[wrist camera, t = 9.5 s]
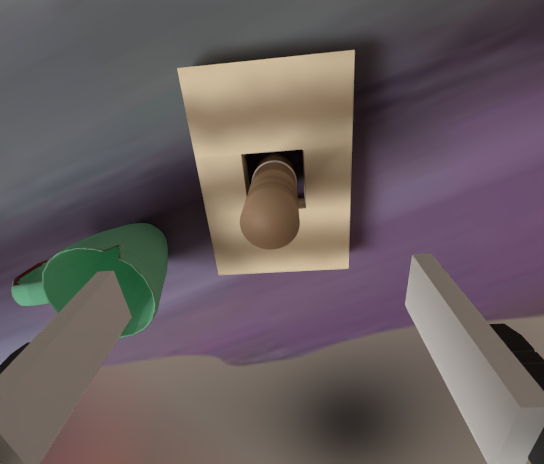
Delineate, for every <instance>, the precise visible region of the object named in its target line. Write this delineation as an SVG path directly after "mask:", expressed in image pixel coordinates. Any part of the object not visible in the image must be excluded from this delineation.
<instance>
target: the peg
mask: <svg viewBox="0 0 544 464" xmlns="http://www.w3.org/2000/svg"><path fill="white" fill-rule="evenodd" d="M296 187H297V179H296V175H295V169H294V166H293V164H292V162H291V161H290V160H289V159H288V158H287V157H285V156H284V155H281V154H270V155H267V156H265V157H264V158H262V159H261V160H260V162H259V163H258V165H257V168H256V170H255V172H254V174H253V177H252V183H251V186H250V189H249V192H248V195H247V198H246V201H245V204H244V207H243V210H242V213H241V216H240V228H241V231H242V233H243V235H244V237H245V238H246V239H247V240H248V241H249V242H250V243H251V244H253V245H254V246H256V247H259V248H262V249H267V250H273V249H279V248H282V247H284V246H286V245H288V244H289V243H290V242H292V241H293V240H294V238H295V237H296V235H297V233H298V231H299V226H300V219H299V209H298V198H297V188H296Z"/></svg>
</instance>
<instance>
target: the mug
mask: <svg viewBox="0 0 544 464" xmlns="http://www.w3.org/2000/svg"><path fill="white" fill-rule="evenodd" d="M167 263H168V248H167V240H166V238H165V236H164V234H163V233H162V232H161V231H160V230H159V229H158V228H157V227H155V226H153V225H151V224H148V223H135V224H128V225H124V226H121V227H117V228H113V229H110V230H106V231H103V232H100V233H97V234H95V235H92V236H89V237H87V238H85V239H82V240H80V241H78V242H76V243H74V244H71V245H69V246H67V247H65V248H64V249H63V250H61V251H60V252H59V253H57V254H56V255H55V256H53V257H52V258H51V259H49V260H46V261H43V262H41V263H38V264H36V265H35V266H33V267H32V268H30V269H29V270H27V271H26V272H24V273H22V274H21V275H19V276H18V277H16V278H15V279H14V280H13V283H12V295H13V298H14V300H15V301H16V302H17V303H18V304H19V305H21V306H32V305H41V304H46V303H49V304H50V305H51V306H52V307H53V309H54V310H55V311H56V313H57V314H58V313H59V312H60V311H61V310H62V309H63V308H64V307H65V306H66V304H67V303H68V302H69V301H70V300H71V299H72V298H73V297H74V296H75V295H76V294H77V293H78V292H79V291H80V290H81V289H82V288H83V287H84V285H85V284H86V283H87V282H88V281H89V280H90V279H91V278H92V277H93V276H94V275H95V274H96V273H97V272H100V271H114V273H115V275H116V278H117V280H118V283H119V285H120V288H121V290H122V293H123V296H124V298H125V301H126V303H127V306H128V308H129V311H130V313H131V316H132V318H131V319H130V321H129V322H128V324H127V326H126V327H125V329H124V330H123V332H122V334H121V335H120V337H119V338H122V337H127V336H132V335H135V334H137V333H138V332H140V331H142V330H144V329H146V327H147V326H148V325H149V323H150V322H151V321H152V320H153V318H154V316H155V315H156V312H157V310H158V306H159V301H160V297H161V292H162V288H163V284H164V281H165V276H166V272H167Z"/></svg>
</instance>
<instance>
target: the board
mask: <svg viewBox="0 0 544 464" xmlns="http://www.w3.org/2000/svg"><path fill="white" fill-rule="evenodd" d="M354 61H355V50H347V51H338V52H328V53H319V54H309V55H299V56H290V57H280V58H271V59H261V60H252V61H242V62H232V63H223V64H213V65H204V66H194V67H184V68H177V70H178V75H179V80H180V85H181V90H182V95H183V100H184V105H185V110H186V115H187V120H188V125H189V130H190V135H191V140H192V145H193V150H194V155H195V160H196V165H197V170H198V175H199V180H200V185H201V190H202V195H203V200H204V205H205V210H206V215H207V220H208V225H209V230H210V235H211V240H212V245H213V250H214V255H215V259H216V264H217V269H218V274H219V275H231V274H251V273H271V272H291V271H311V270H331V269H349V236H350V201H351V166H352V131H353V96H354ZM290 150H302V152H303V176H304V197H303V198H298V209H299V219H300V226H299V231H298V233H297V235H296V237H295V238H294V240H293V241H292V242H290V243H289V244H288V245H286V246H284V247H282V248H279V249H273V250H267V249H262V248H259V247H256V246H254V245H253V244H251V243H250V242H249V241H248V240H247V239H246V238H245V237H244V235H243V233H242V231H241V228H240V216H241V213H242V210H243V207H244V204H245V201H246V198H247V195H248V192H249V189H250V184H249V176H248V168H247V160H246V154H253V153H265V152H277V151H290Z"/></svg>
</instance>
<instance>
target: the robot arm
mask: <svg viewBox="0 0 544 464" xmlns="http://www.w3.org/2000/svg"><path fill="white" fill-rule="evenodd" d="M405 306H406V308H407V310H408V312H409V314H410V316H411V318H412V320H413V322H414V324H415V325H416V327H417V329H418V331H419V333H420V335H421V337H422V339H423V341H424V343H425V345H426V347H427V348H428V350H429V352H430V354H431V356H432V358H433V360H434V362H435V364H436V366H437V367H438V369H439V371H440V373H441V375H442V377H443V379H444V381H445V383H446V385H447V387H448V389H449V391H450V393H451V395H452V396H453V398H454V400H455V402H456V404H457V406H458V408H459V410H460V412H461V414H462V416H463V417H464V419H465V421H466V423H467V425H468V427H469V429H470V431H471V433H472V435H473V437H474V439H475V440H476V442H477V444H478V446H479V448H480V450H481V452H482V454H483V456H484V458H485V460H486V462H487V464H526V463H527V461H528V459H529V460H530V462H531V464H544V360H543V358H542V357H541V356H540V355H539V354H538V353H537V352H535V351H534V349H533V347H532V346H531V345H530V344H529V343H528V342H527V341H526V340H525V339H524V337H523V336H522V335H520V334H519V333H517V332H516V331H514V330H513V329H511V328H510V327H508V326H507V325H505V324H488V322H487V321H486V320H485V319H484V318H483V316H482V315H481V314H480V313H479V311H478V310H477V309H476V308H475V307H474V305H473V304H472V303H471V302H470V300H469V299H468V298H467V297H466V296H465V294H464V293H463V292H462V291H461V289H460V288H459V287H458V286H457V285H456V283H455V282H454V281H453V280H452V278H451V277H450V276H449V275H448V274H447V272H446V271H445V270H444V269H443V267H442V266H441V265H440V264H439V263H438V261H437V260H436V259H435V258H434V256H433V255H432V254H431V253H428V254H412V259H411V266H410V273H409V280H408V287H407V294H406V301H405ZM131 318H132V316H131V313H130V311H129V308H128V306H127V303H126V301H125V298H124V296H123V293H122V290H121V288H120V285H119V283H118V280H117V278H116V275H115V273H114V271H100V272H97V273H96V274H95V275H94V276H93V277H92V278H91V279H90V280H89V281H88V282H87V283H86V284H85V285H84V287H83V288H82V289H81V290H80V291H79V292H78V293H77V294H76V295H75V296H74V297H73V298H72V299H71V300H70V301H69V302H68V303H67V304H66V306H65V307H64V308H63V309H62V310H61V311H60V312H59V313H58V314H57V315H56V316H55V317H54V318H53V319H52V320H51V321H50V322H49V323H48V325H47V326H46V327H45V328H44V329H43V330H42V331H41V332H40V333H39V334H38V335H37V336H36V337H35V338H34V339H33V340H32V341H31V342H29V343H26V344H25V345H23V346H22V347H20V348H19V349H18V350H16V351H15V352H13V353H12V354H11V355H10V356H9V357H8V358H7V359H6V360H5V361H4V362H3V363H2V364H1V365H0V463H1V464H40V462H41V461H42V459H43V457H44V456H45V454H46V453H47V451H48V450H49V448H50V446H51V444H52V443H53V442H54V440H55V438H56V437H57V435H58V434H59V432H60V430H61V429H62V427H63V425H64V424H65V422H66V421H67V419H68V418H69V416H70V415H71V413H72V411H73V410H74V408H75V407H76V405H77V403H78V402H79V400H80V399H81V397H82V395H83V394H84V392H85V391H86V389H87V387H88V386H89V384H90V383H91V381H92V380H93V378H94V376H95V375H96V373H97V371H98V370H99V368H100V367H101V365H102V364H103V362H104V361H105V359H106V357H107V356H108V354H109V353H110V351H111V349H112V348H113V346H114V345H115V343H116V341H117V340H118V338H119V337H120V335H121V334H122V332H123V330H124V329H125V327H126V326H127V324H128V322H129V321H130V319H131Z"/></svg>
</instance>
